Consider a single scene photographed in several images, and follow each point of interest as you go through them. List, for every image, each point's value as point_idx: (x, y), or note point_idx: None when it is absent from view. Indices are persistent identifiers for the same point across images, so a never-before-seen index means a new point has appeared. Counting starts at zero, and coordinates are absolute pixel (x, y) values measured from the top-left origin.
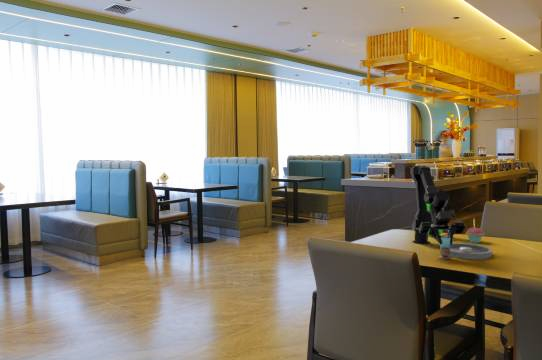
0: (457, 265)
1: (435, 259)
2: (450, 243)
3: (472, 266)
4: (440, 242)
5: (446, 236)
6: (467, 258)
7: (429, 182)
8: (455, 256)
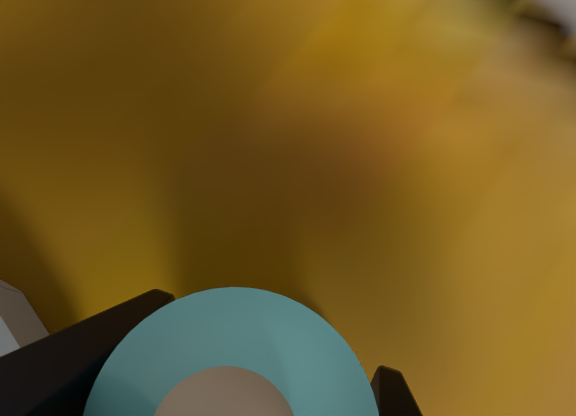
0: (333, 91)
1: None
2: None
3: (215, 23)
4: (409, 391)
5: (237, 369)
6: (2, 281)
7: None
8: None
